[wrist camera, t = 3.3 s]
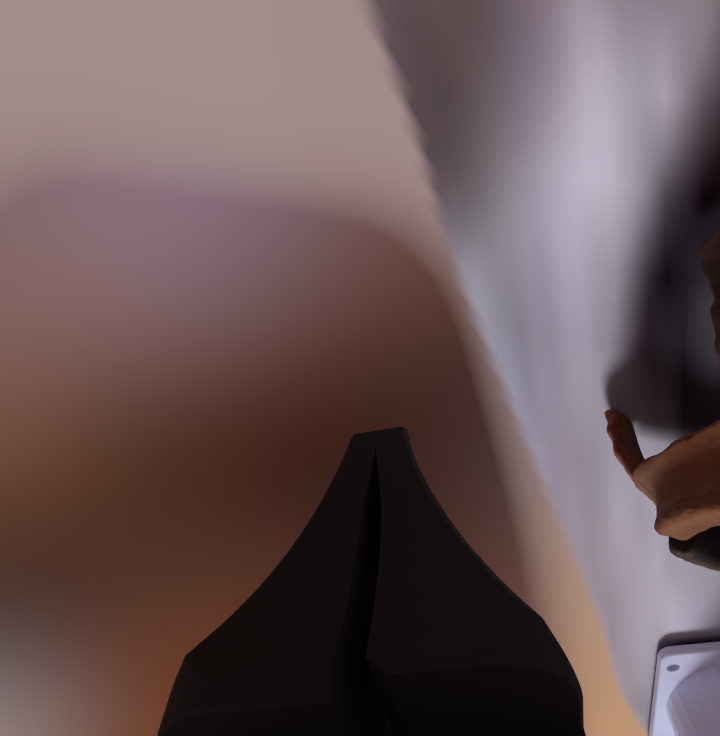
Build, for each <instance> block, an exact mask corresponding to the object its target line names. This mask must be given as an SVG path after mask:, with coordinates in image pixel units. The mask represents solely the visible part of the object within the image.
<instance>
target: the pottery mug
mask: <svg viewBox="0 0 720 736" xmlns="http://www.w3.org/2000/svg"><path fill="white" fill-rule="evenodd" d="M700 255H701V256H702V257H703V260H702V264H701V268H702V270H703V272H704V274H705V276H706V278H707V280H708V282H709V286H710V290H711V291H712V293H713V295H714V299H715V301H714V303H713V305H712V306H711V318H712V322H713V325H714V329H715V333H716V338H715V342H714V343H715V349H716V353H717V355H718V357H719V359H720V227H719V228H718V229H717V230H716V231H715V232H714V233H712V235H711V236H710V237H709V238H708V239H707V241H706V242H705V243H704V244H703V245H702V247H701V248H700ZM605 417H606V420H607V422H608V425H607V433H608V435H609V437H610V439H611V440H612V442H613V451H614V454H615V456H616V458H617V459H618V460H619V462H620V463H621V464H622V465H623V467H624V468H625V470H626V472H627V474H628V475H629V476H630V478H631V479H632V481H633V482H634V483H635V485H636V487H637V488H638V489H639V490H640V491H642V492H643V493H644V494H645V495H646V496H647V497H648V498H649V499H651V500H652V501H653V502H654V504H655V505H656V506H657V507H656V508H657V517H656V520H655V525H654V528H655V530H656V531H657V532H658V533H659V534H660V535H664V536H669V549H670V552H671V553H672V554H674V555H675V556H676V557H679V558H682V559H684V560H685V561H688V562H691V563H693V564H696V565H700V566H703V567H706V568H709V569H712V570H716V571H720V419H719V420H718V421H716V422H715V423H713V424H710V425H708V426H707V427H705V428H703V429H701V430H699V431H697V432H695V433H689V434H687V435H685V436H683V437H681V438H679V439H678V440H676V441H674V442H673V443H671V444H670V445H669V446H668V447H667V448H666V449H665V450H664V451H662V452H661V453H659V454H657V455H654V456H651V457H649V458H647V459H644V457H643V455H642V453H641V450H640V447H639V444H638V441H637V437H636V434H635V431H634V427H633V424H632V423H631V421H630V419H628V418H627V417H625V415H623V414H621V413H619V412H617V411H614V410H607V411H606V412H605Z"/></svg>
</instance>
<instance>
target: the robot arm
mask: <svg viewBox="0 0 720 736" xmlns="http://www.w3.org/2000/svg"><path fill="white" fill-rule="evenodd" d="M158 736H586V735H585V732H584V728H583V695H582V690H581V687H580V684H579V681H578V679H577V677H576V674H575V672H574V670H573V668H572V666H571V664H570V662H569V660H568V658H567V657H566V655H565V653H564V651H563V650H562V648H561V646H560V645H559V643H558V641H557V640H556V638H555V637H554V635H553V634H552V632H551V631H550V629H549V628H548V626H547V624H546V623H545V621H544V620H543V618H542V617H541V616H540V615H539V614H537V613H536V612H535V611H534V610H533V609H532V608H530V607H529V606H528V605H527V604H526V603H525V602H524V601H522V600H521V599H520V598H519V597H518V596H517V595H516V594H515V593H514V592H513V591H512V590H511V589H510V588H509V587H508V586H507V585H506V584H504V582H503V581H501V580H500V578H498V577H497V576H496V574H495V573H494V572H493V571H492V570H491V569H490V568H489V567H488V566H487V565H486V564H485V563H484V561H483V560H482V559H481V558H480V557H479V556H478V555H477V554H476V552H475V551H474V550H473V549H472V548H471V547H470V545H469V544H468V543H467V542H466V540H465V539H464V538H463V537H462V535H461V534H460V533H459V532H458V530H457V529H456V527H455V526H454V525H453V523H452V522H451V521H450V519H449V518H448V517H447V515H446V513H445V512H444V510H443V509H442V508H441V506H440V504H439V503H438V501H437V500H436V498H435V497H434V495H433V493H432V491H431V489H430V488H429V486H428V484H427V482H426V480H425V479H424V477H423V474H422V473H421V471H420V469H419V467H418V464H417V462H416V460H415V457H414V455H413V452H412V447H411V443H410V438H409V434H408V430H407V429H405V428H404V427H397V428H390V429H384V430H377V431H371V432H365V433H359V434H354V435H353V437H352V438H351V440H350V442H349V445H348V447H347V450H346V452H345V454H344V457H343V459H342V461H341V463H340V465H339V467H338V470H337V472H336V474H335V476H334V478H333V480H332V482H331V483H330V486H329V488H328V489H327V491H326V493H325V495H324V497H323V499H322V500H321V502H320V504H319V505H318V507H317V509H316V510H315V512H314V514H313V515H312V517H311V519H310V520H309V522H308V524H307V525H306V527H305V528H304V530H303V531H302V533H301V534H300V536H299V537H298V539H297V540H296V542H295V543H294V545H293V546H292V547H291V548H290V550H289V551H288V553H287V554H286V555H285V557H284V558H283V559H282V560H281V562H280V563H279V564H278V565H277V566H276V568H275V569H274V570H273V571H272V573H271V574H270V575H269V576H268V578H267V579H266V580H265V581H264V582H263V583H262V584H261V586H260V587H259V588H258V589H257V590H256V591H255V592H254V593H253V594H252V595H251V596H250V597H249V598H248V599H247V600H246V601H245V602H244V603H243V604H242V605H241V606H240V607H239V608H238V610H236V611H235V612H234V614H233V615H232V616H230V617H229V618H228V619H227V620H226V621H225V622H224V623H223V624H222V625H221V626H219V627H218V628H217V629H216V630H215V631H214V632H212V633H211V634H210V635H209V636H208V637H207V638H206V639H204V640H203V641H202V642H201V643H200V644H199V645H198V646H196V647H195V648H194V649H193V650H192V651H190V652H189V653H188V654H187V655H186V656H185V658H184V660H183V663H182V665H181V668H180V670H179V672H178V675H177V677H176V679H175V682H174V685H173V687H172V690H171V693H170V697H169V700H168V703H167V706H166V709H165V712H164V716H163V719H162V722H161V725H160V728H159V731H158ZM649 736H720V641H719V642H708V643H697V644H687V645H676V646H668V647H665V648H662V649H661V650H660V651H659V653H658V657H657V665H656V674H655V683H654V692H653V701H652V709H651V718H650V727H649Z"/></svg>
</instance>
